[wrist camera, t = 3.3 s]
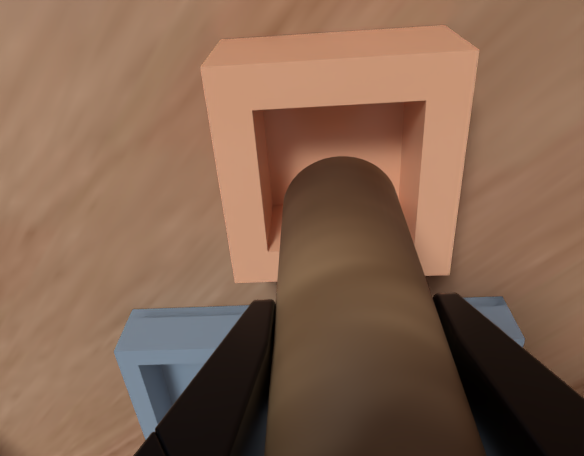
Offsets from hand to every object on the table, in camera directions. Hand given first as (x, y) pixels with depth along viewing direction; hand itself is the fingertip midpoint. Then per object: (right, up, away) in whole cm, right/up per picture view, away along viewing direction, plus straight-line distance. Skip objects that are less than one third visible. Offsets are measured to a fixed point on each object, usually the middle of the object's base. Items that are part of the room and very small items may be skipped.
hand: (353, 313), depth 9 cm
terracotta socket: (0, +5, +8) cm, 9 cm away
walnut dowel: (0, +2, +3) cm, 4 cm away
